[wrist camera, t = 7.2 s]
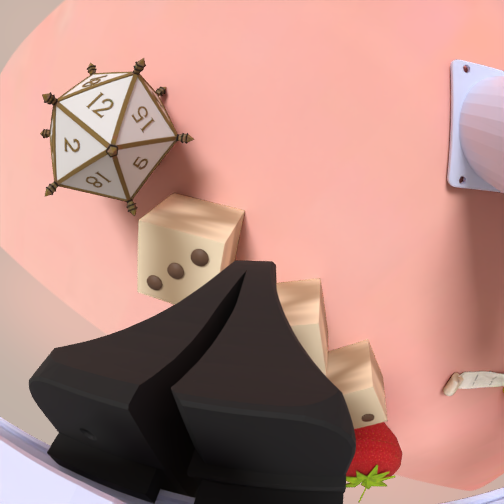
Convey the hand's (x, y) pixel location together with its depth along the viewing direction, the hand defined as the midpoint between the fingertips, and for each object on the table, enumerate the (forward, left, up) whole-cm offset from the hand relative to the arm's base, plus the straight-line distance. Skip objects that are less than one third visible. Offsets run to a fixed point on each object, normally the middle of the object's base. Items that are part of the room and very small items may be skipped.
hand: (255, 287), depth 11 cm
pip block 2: (-5, +15, -11) cm, 19 cm away
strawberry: (-8, +22, -11) cm, 26 cm away
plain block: (0, +9, -11) cm, 14 cm away
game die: (+9, -5, -11) cm, 15 cm away
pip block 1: (+6, +3, -11) cm, 12 cm away
